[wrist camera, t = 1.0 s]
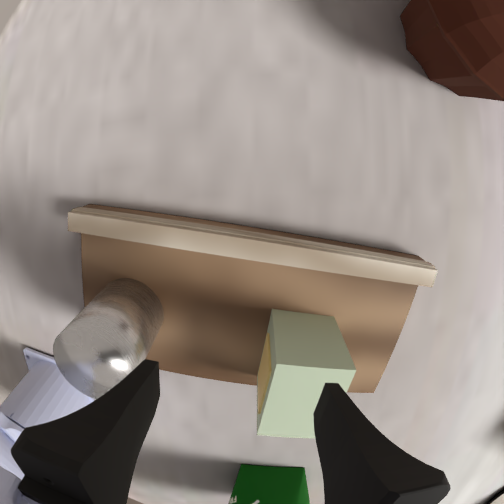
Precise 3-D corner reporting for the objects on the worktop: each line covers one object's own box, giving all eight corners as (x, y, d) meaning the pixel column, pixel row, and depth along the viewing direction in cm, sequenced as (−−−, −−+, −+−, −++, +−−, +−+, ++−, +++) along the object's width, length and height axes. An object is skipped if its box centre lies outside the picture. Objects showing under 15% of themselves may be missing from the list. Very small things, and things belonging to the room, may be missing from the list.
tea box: (334, 316, 21) (356, 369, 16) (312, 381, 23) (324, 438, 17) (269, 308, 21) (273, 363, 15) (255, 375, 23) (254, 434, 17)
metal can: (163, 345, 22) (134, 410, 16) (102, 331, 22) (61, 387, 15) (165, 284, 21) (129, 342, 14) (99, 272, 21) (46, 319, 14)
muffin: (393, 101, 18) (486, 77, 8) (368, -31, 14) (421, -103, 5) (511, 119, 17) (600, 123, 8) (488, 3, 14) (559, -27, 4)
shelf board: (369, 383, 25) (379, 406, 22) (95, 344, 24) (80, 364, 21) (418, 254, 21) (438, 269, 18) (89, 202, 20) (67, 210, 17)
